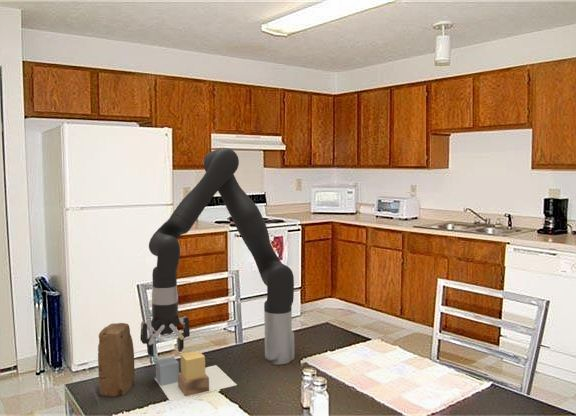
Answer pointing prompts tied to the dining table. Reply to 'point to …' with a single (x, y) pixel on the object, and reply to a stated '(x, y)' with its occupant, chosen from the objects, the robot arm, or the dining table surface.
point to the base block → (193, 385)
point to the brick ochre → (192, 365)
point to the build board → (215, 383)
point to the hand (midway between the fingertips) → (165, 353)
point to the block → (115, 360)
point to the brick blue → (167, 370)
